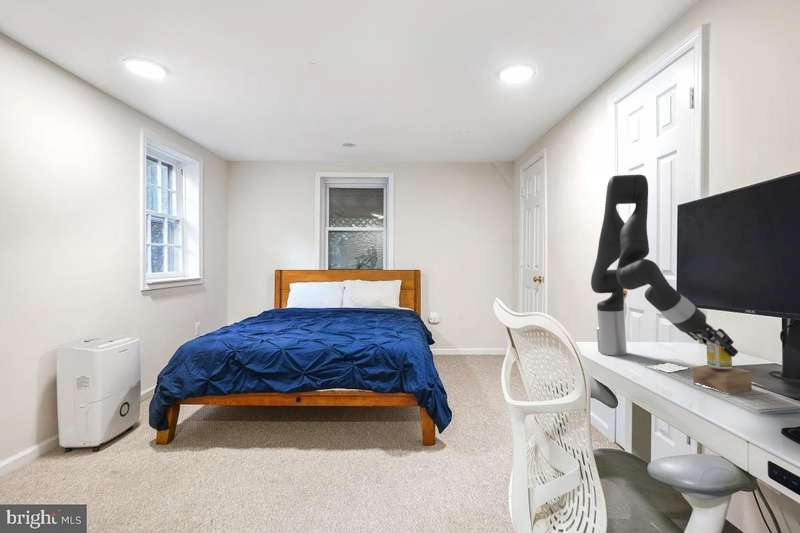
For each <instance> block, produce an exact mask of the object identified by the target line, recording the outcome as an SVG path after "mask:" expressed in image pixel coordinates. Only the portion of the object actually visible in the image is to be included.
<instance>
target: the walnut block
mask: <svg viewBox="0 0 800 533" xmlns="http://www.w3.org/2000/svg"><path fill="white" fill-rule="evenodd" d="M692 379H693V381H692V382H694V383H699V384H701V385H705V386H708V387H711V388H714V389H717V390H719V391H721V392H725V393H731V394H734V392H736V393H740V392H745V391H750V390H753V388H752V387H753V386H752V371H751V370H746V369H742V368H738V367H733V366H732V368H730V369H717V368H712V367H710V366H708V364H705V365H699V366H694V367H692ZM694 383H693V384H694ZM721 392H720V393H721ZM725 393H724V394H725Z"/></svg>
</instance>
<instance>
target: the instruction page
mask: <svg viewBox="0 0 800 533" xmlns="http://www.w3.org/2000/svg"><path fill="white" fill-rule="evenodd" d="M645 368H647V369H652V370H654V371H657V370H656V369H655V368H653V367H651V365H647V366H645Z"/></svg>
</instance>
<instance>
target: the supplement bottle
mask: <svg viewBox="0 0 800 533" xmlns="http://www.w3.org/2000/svg"><path fill="white" fill-rule="evenodd" d="M725 333H726V332H725ZM726 334H727V335H728V333H726ZM728 336H729V335H728ZM713 339H714V336H713V337H712V338H711V340H713ZM718 343H719V342H718ZM706 345H707V346H706ZM706 345H705V346H706V362H707V364H706V365H708V366H710V367H712V368H717V369H730V368H732V367H733V357H732V356H730V355H728V354H727V353H726V352H725V351H724V350H723V349H722V348H720V347H719V346H717V345H716V344H711V343H710V342H708V341H707V342H706Z"/></svg>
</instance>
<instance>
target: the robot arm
mask: <svg viewBox="0 0 800 533" xmlns="http://www.w3.org/2000/svg"><path fill="white" fill-rule="evenodd" d="M606 187H607V188H606V193H605V194H606V195H605V202H604V203H605V204H604V206H605V207H604V214H603V221H602V226H601V229H600V234H599V240H598V248H597V253H596V260H595V263H594V266H593V270H592V273H591V277H590V278H591V279H590V285H591V287H590V288H591V290H592V291H593V292H594V293H596V294H611V295H610V297H608V298H607V299H603V300H602V301H599V302H597V303H596V304H597V305H596V309H597V310H596V311H597V323H598V327H597V328H596V338H597V339H596V340H597V351H598V352H599V353H601V354H602V355H607V356H614V357H615V356H616V357H617V356H625V355H627V354H628V351H627V338H626V336H627V335H626V324H625V323H626V322H625V298H624V296H625V295H624V290H629V291H632V290H636V289H639V288H641V287H645V286H647V285H649V287H647V289H646V290H645V292H644V297H645V300H647V301H648V303H649V304H650V305H652V306H653V307H654V308H655V309H656V310H658V311H659V312H660V314H661V315H662V316H663V317H664V318H665V319H666V320H667V321H669V322H670V323H671V324H672V325H673V326H675V328H676V329H678V330H679V332H681V333H685V334H687V335H688V336H689V337H690V338H692V339H693V340H694V341H696V342H697V341H699V342H700V343H701V344H703V345H705V346H706V347H707V345H706V342H707V341H708V342H710V343H711V344H716V345H717V346H719V347H720V348H722V349H723V350H724V351H725V352H726V353H727V354H728V355H730V356H732V358H733V357H735V356H736V355H737V354H738V352H739V351H738V349H736V348H735V347H734V346H733V344H734V340H733V339H732V338H731V337H730V336H729V335H727V334H728V333H727V334H726V332H725V331H724V329H722V328H718V329H717V330H716V329H715V328H714V327H713V326H712V325H710V324H708V323H707V315H706V314H705V313H704V312H703V311H701V310H700V309H699V308H698V307H697V306H696V305H695V304H693V303H692V302H691V301H690V299H688V298H687V297H685V296H683V294H681V293H680V292H678V291H677V290H676V289H675V288H674V287H672V286H671V285H670V283H669V282H668V280H667V279H666V277H665V275H664V274H663V272H662V271H661V269H660V267H659V266H658V264H657V263H656V262H654V261H653V260H650V259H647V258H646V257H647V256H648V255H649V253H650V246H649V245H650V244H649V239H648V238H649V237H648V229H647V228H648V209H649V207H648V206H649V204H648V203H649V182H648V178H647V177H646V175H643V174H624V175H619V174H618V175H614V176H611V177H610V178H609V180H608V183H607V185H606ZM627 204H628V205H630V204H632V205H634V204H635V207H634V210H633V212H632V213H631V215H630V216H629V218H628V219H627V220H626V222H624V219H622V217H621V216H620V214H619V212H618V209H617V205H627ZM617 260H618V262H617V267H616V269H610V268H609V267H611V266H612V265H613V264H614V263H615V262H616V261H617ZM713 336H714V339H713V340H711V338H712V337H713ZM718 342H719V343H718Z"/></svg>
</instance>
